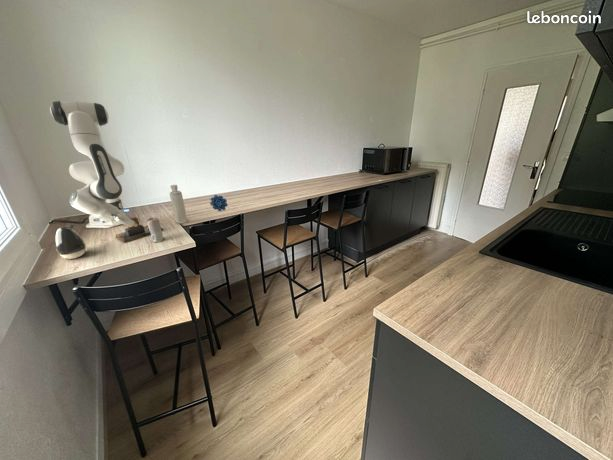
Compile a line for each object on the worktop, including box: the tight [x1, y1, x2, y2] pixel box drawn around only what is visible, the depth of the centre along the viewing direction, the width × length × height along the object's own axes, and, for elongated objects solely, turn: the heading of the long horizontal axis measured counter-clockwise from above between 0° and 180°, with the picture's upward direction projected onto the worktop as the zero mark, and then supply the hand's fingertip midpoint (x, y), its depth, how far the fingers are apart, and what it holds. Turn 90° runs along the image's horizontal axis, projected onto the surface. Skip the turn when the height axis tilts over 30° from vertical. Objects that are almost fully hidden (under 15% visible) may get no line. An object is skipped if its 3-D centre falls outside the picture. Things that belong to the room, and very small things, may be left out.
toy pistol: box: [115, 224, 164, 243], centre depth 143 cm, size 20×12×2 cm, turn 143°
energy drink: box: [146, 217, 165, 243], centre depth 132 cm, size 5×5×12 cm
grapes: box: [209, 194, 228, 212], centre depth 174 cm, size 12×7×12 cm, turn 122°
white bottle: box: [169, 184, 189, 224], centre depth 155 cm, size 7×7×25 cm
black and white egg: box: [54, 224, 87, 260], centre depth 117 cm, size 10×10×15 cm
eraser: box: [124, 217, 145, 235], centre depth 139 cm, size 8×4×8 cm, turn 143°
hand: (135, 224), depth 140 cm, fingers closed on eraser, 3 cm apart
